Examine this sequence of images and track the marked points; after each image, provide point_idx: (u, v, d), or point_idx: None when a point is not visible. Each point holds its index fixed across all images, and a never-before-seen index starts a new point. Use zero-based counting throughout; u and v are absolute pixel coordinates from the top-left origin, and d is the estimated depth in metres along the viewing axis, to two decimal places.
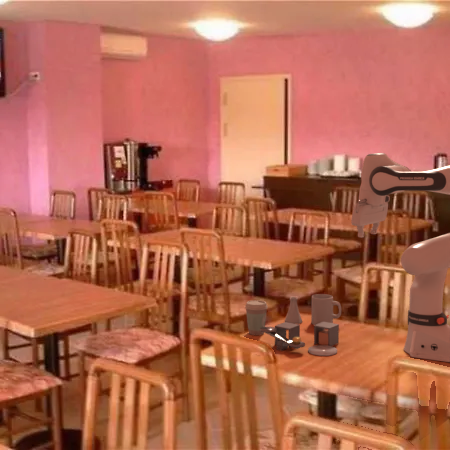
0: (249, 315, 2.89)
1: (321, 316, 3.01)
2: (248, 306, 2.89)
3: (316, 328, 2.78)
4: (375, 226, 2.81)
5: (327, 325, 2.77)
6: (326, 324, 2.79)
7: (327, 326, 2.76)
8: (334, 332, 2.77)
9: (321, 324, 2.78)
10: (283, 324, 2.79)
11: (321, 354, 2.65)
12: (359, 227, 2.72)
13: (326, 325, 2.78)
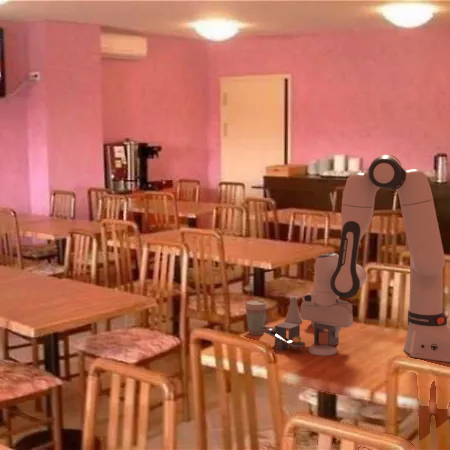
0: (249, 315, 2.89)
1: None
2: (248, 306, 2.89)
3: (316, 328, 2.78)
4: None
5: (327, 325, 2.77)
6: (326, 324, 2.79)
7: (327, 326, 2.76)
8: None
9: (321, 324, 2.78)
10: (283, 324, 2.79)
11: (321, 354, 2.65)
12: (340, 327, 2.74)
13: (326, 324, 2.78)
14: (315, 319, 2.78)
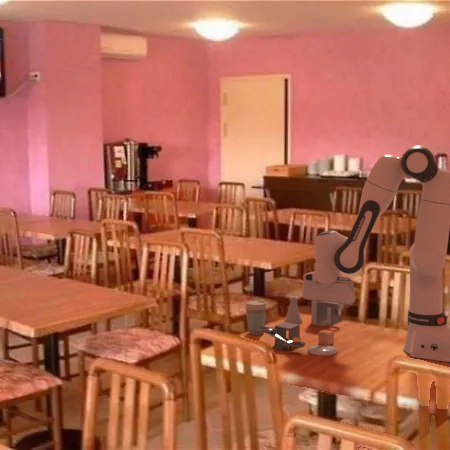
0: (249, 315, 2.89)
1: None
2: (248, 306, 2.89)
3: (318, 307, 2.77)
4: None
5: (329, 303, 2.76)
6: (328, 302, 2.77)
7: (329, 304, 2.74)
8: None
9: (323, 303, 2.77)
10: (283, 324, 2.79)
11: (321, 354, 2.65)
12: (342, 305, 2.73)
13: (329, 303, 2.76)
14: (317, 298, 2.77)
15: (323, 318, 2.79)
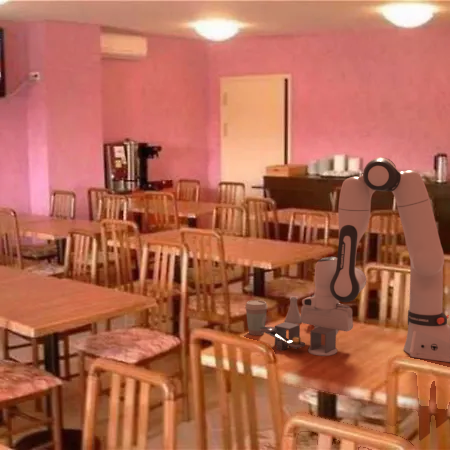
0: (249, 314, 2.89)
1: None
2: (248, 306, 2.89)
3: (312, 333, 2.68)
4: None
5: (324, 330, 2.67)
6: (323, 329, 2.69)
7: (324, 331, 2.66)
8: (331, 337, 2.67)
9: (318, 329, 2.69)
10: (283, 324, 2.79)
11: (321, 354, 2.65)
12: (337, 330, 2.75)
13: (323, 330, 2.68)
14: (315, 323, 2.79)
15: (317, 345, 2.71)
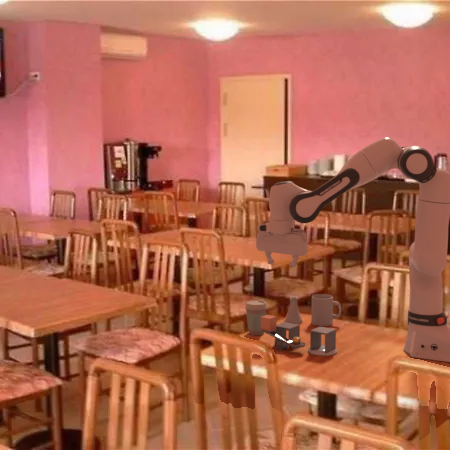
0: (249, 315, 2.89)
1: (321, 316, 3.01)
2: (248, 306, 2.89)
3: (312, 333, 2.68)
4: (269, 256, 2.77)
5: (324, 330, 2.67)
6: (323, 329, 2.69)
7: (324, 331, 2.66)
8: (331, 337, 2.67)
9: (318, 329, 2.69)
10: (283, 324, 2.79)
11: (321, 354, 2.65)
12: (297, 257, 2.69)
13: (323, 330, 2.68)
14: (270, 249, 2.74)
15: (317, 345, 2.71)
